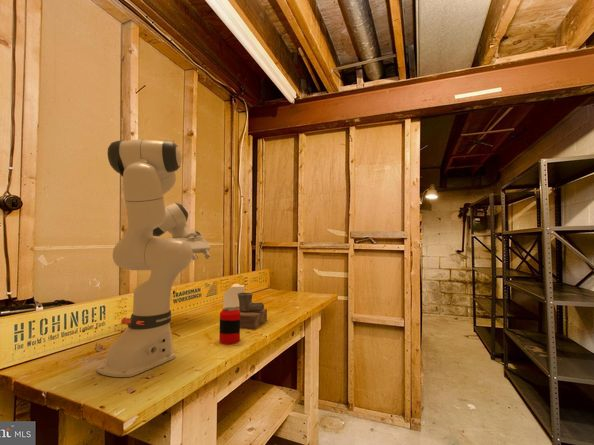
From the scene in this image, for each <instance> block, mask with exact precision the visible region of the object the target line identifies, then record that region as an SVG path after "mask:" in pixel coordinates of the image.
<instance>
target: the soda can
mask: <svg viewBox="0 0 594 445" xmlns="http://www.w3.org/2000/svg"><path fill="white" fill-rule="evenodd" d="M218 340H219V341H218V342H219V343H220V344H222V345H235V344H238V342H240V341H241V328H240V311H239V310H238V308H235V307H223V309H222V310H221V311H220V312H219V339H218Z"/></svg>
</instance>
